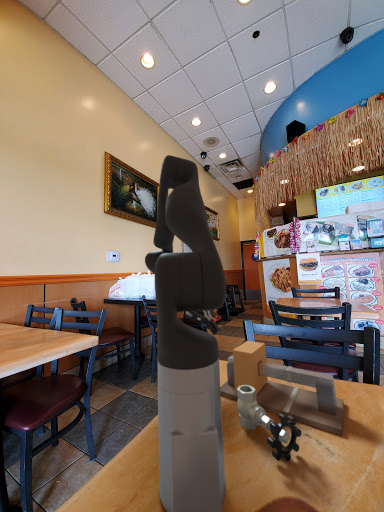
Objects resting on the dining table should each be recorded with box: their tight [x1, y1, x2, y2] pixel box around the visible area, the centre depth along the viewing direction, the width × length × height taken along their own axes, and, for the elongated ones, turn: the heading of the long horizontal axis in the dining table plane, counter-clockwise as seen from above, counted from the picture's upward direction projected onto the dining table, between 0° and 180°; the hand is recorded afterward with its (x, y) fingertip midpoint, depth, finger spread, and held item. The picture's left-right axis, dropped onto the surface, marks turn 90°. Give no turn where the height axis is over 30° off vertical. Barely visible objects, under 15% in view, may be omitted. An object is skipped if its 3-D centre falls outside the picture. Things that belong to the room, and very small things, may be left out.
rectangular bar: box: [226, 355, 337, 416], centre depth 51 cm, size 24×4×7 cm, turn 53°
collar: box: [232, 340, 269, 395], centre depth 54 cm, size 5×10×10 cm, turn 143°
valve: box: [236, 385, 303, 463], centre depth 39 cm, size 7×7×12 cm
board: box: [220, 379, 345, 436], centre depth 50 cm, size 26×12×1 cm, turn 53°
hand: (217, 332), depth 61 cm, fingers closed
